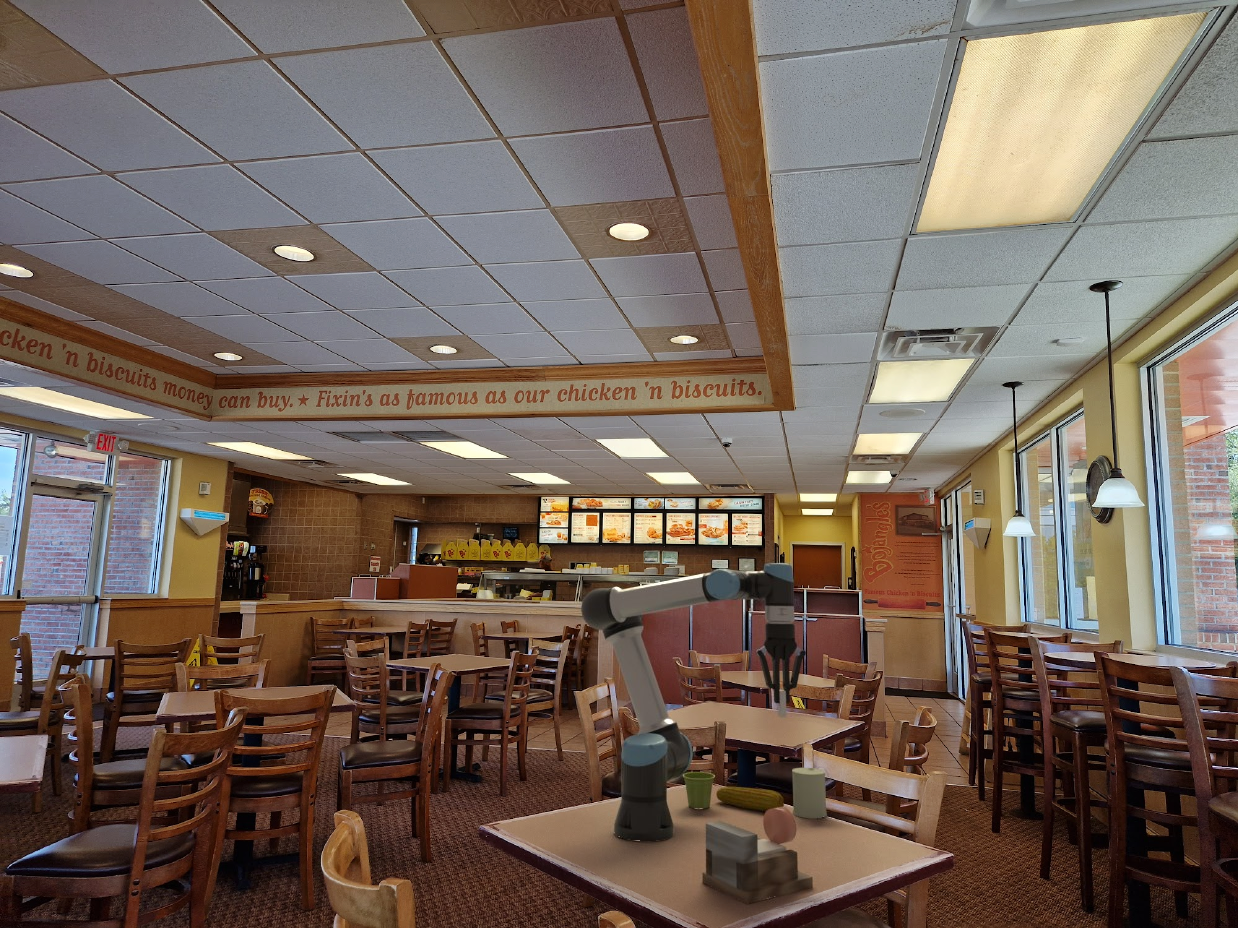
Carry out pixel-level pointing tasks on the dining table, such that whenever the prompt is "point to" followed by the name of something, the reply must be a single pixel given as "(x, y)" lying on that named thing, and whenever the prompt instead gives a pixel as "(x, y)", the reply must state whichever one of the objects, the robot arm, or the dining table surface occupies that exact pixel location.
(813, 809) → the can
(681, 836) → the dining table surface
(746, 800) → the food
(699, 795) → the plant pot
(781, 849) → the plunger
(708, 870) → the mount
